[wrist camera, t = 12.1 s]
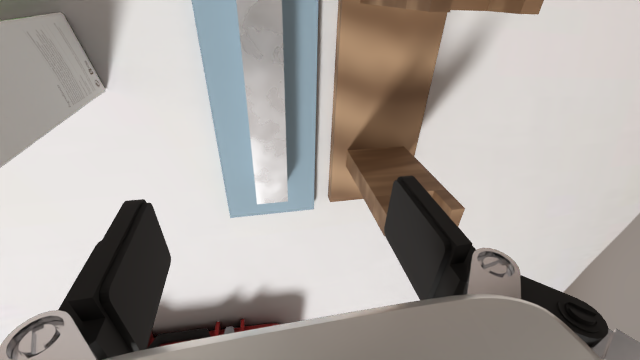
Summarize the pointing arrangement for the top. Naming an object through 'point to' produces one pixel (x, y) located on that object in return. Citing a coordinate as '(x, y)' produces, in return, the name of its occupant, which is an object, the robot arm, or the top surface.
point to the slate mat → (231, 106)
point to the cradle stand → (389, 95)
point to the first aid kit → (198, 334)
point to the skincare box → (40, 79)
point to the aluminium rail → (265, 95)
